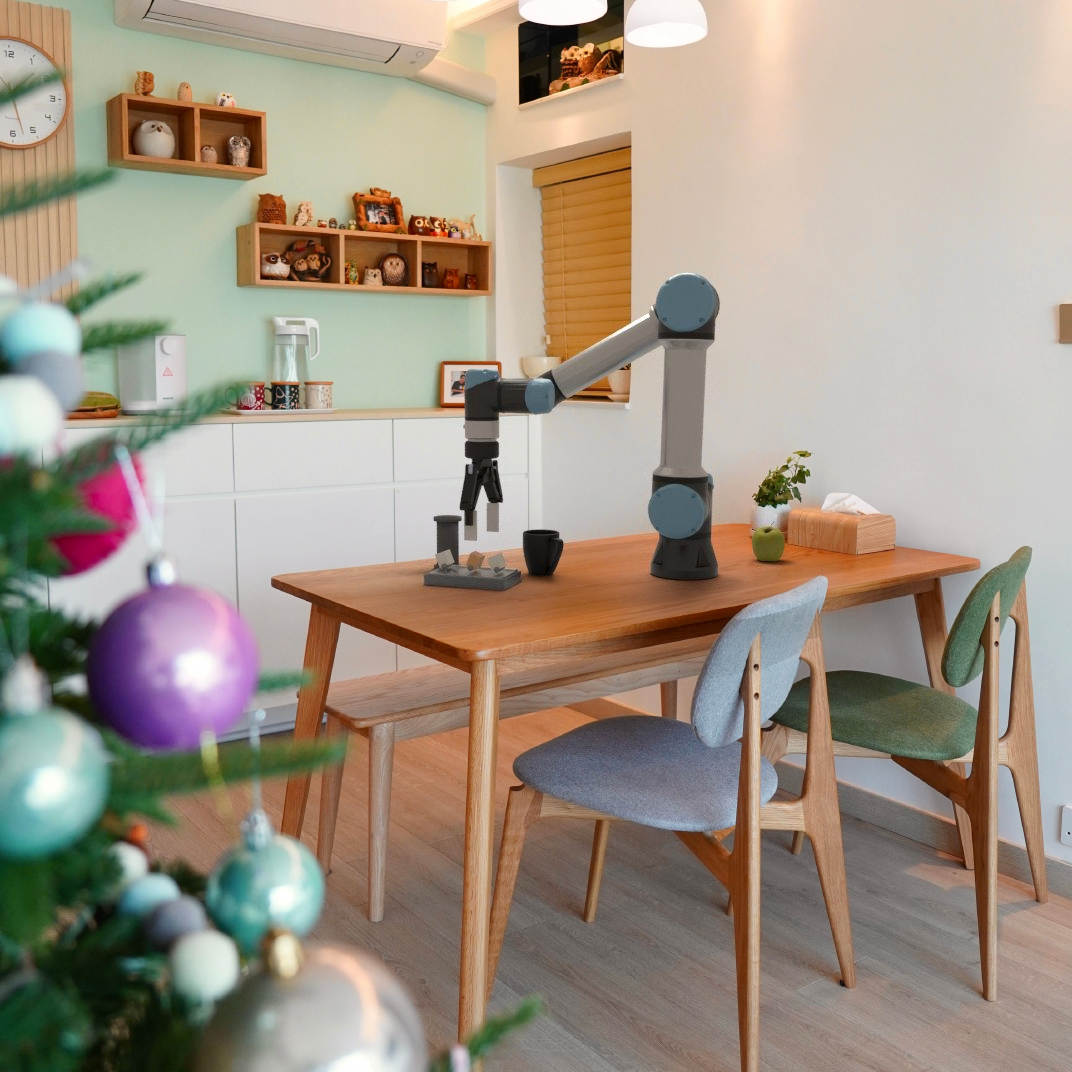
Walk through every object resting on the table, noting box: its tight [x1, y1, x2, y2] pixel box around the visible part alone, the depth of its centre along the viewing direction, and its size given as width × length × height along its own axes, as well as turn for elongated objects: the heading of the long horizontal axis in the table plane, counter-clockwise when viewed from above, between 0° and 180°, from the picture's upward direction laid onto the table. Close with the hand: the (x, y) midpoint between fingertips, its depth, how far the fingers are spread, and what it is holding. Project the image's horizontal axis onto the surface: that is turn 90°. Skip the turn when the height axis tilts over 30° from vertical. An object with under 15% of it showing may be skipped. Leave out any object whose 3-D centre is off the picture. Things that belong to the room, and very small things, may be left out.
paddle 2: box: [486, 552, 508, 573], centre depth 226 cm, size 2×4×4 cm, turn 161°
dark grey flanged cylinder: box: [433, 514, 463, 570], centre depth 244 cm, size 6×6×12 cm
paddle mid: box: [465, 550, 486, 571], centre depth 228 cm, size 2×4×4 cm, turn 163°
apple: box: [751, 521, 786, 562], centre depth 257 cm, size 8×8×10 cm
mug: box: [522, 529, 565, 577], centre depth 237 cm, size 8×12×10 cm
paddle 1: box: [434, 549, 454, 569], centre depth 230 cm, size 2×4×4 cm, turn 161°
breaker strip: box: [423, 564, 522, 591], centre depth 229 cm, size 18×11×3 cm, turn 72°
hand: (482, 536), depth 237 cm, fingers open, 13 cm apart
